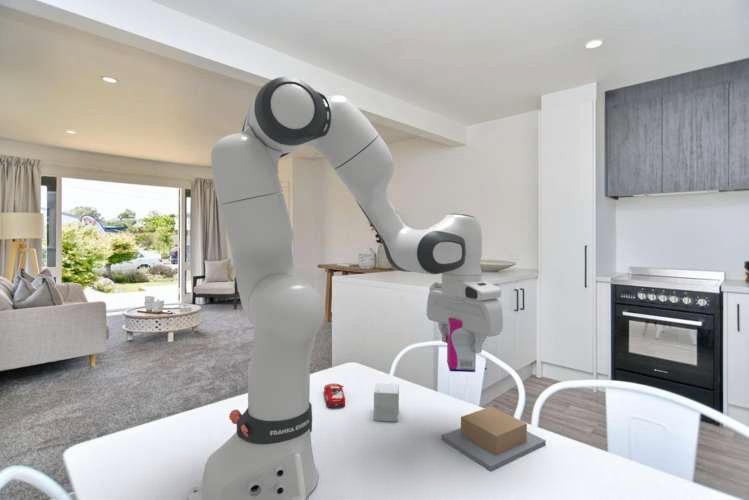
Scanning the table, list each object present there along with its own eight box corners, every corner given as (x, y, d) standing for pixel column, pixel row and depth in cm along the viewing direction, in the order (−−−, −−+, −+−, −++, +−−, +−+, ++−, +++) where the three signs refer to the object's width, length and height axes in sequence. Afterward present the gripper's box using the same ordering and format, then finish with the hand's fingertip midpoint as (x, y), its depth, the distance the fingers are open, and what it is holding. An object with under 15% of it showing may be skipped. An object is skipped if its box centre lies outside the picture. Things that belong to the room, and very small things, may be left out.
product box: (397, 422, 96) (398, 393, 96) (373, 421, 97) (373, 392, 97) (399, 411, 102) (399, 383, 102) (375, 410, 103) (376, 382, 103)
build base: (490, 471, 77) (491, 446, 77) (441, 439, 88) (441, 417, 88) (545, 444, 87) (546, 422, 86) (494, 419, 98) (495, 399, 98)
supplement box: (471, 363, 92) (472, 314, 91) (475, 372, 86) (477, 321, 85) (446, 362, 92) (447, 314, 92) (449, 371, 86) (450, 320, 86)
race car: (323, 391, 116) (323, 377, 116) (341, 390, 117) (341, 376, 116) (325, 410, 103) (325, 395, 103) (346, 409, 104) (346, 394, 103)
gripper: (420, 282, 95) (420, 338, 96) (487, 293, 78) (486, 361, 79) (439, 280, 98) (439, 334, 99) (507, 290, 81) (507, 356, 82)
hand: (461, 346), depth 89 cm, fingers closed on supplement box, 8 cm apart
